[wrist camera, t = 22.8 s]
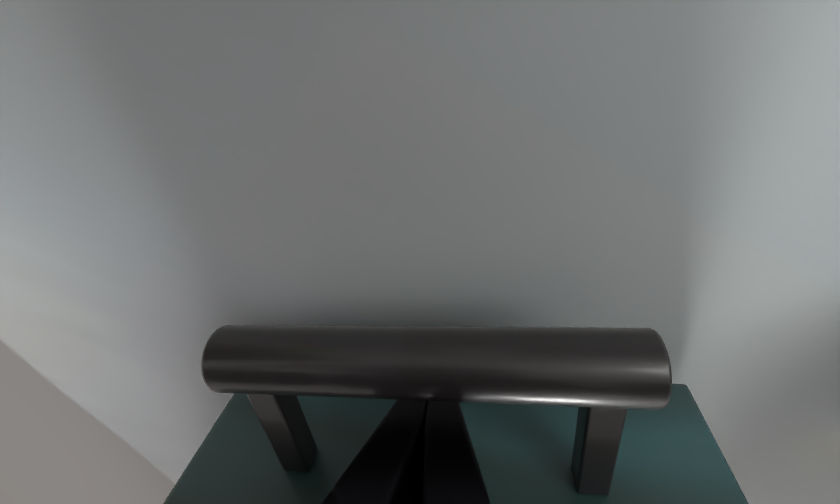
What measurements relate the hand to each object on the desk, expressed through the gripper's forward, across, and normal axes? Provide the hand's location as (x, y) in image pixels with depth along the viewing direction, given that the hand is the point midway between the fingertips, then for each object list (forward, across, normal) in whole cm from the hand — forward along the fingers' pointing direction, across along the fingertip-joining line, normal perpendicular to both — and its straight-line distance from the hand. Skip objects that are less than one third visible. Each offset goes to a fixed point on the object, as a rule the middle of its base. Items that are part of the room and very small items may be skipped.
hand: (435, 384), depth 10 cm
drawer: (+2, 0, +5) cm, 6 cm away
